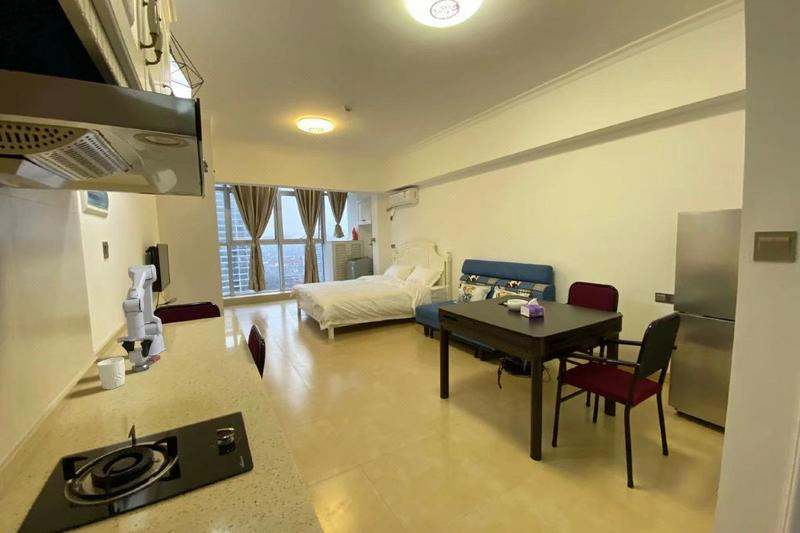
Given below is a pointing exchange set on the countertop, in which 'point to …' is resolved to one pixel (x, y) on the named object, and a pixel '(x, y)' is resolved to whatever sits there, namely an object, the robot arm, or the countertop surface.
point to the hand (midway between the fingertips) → (139, 357)
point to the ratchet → (144, 364)
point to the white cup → (112, 373)
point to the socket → (137, 355)
